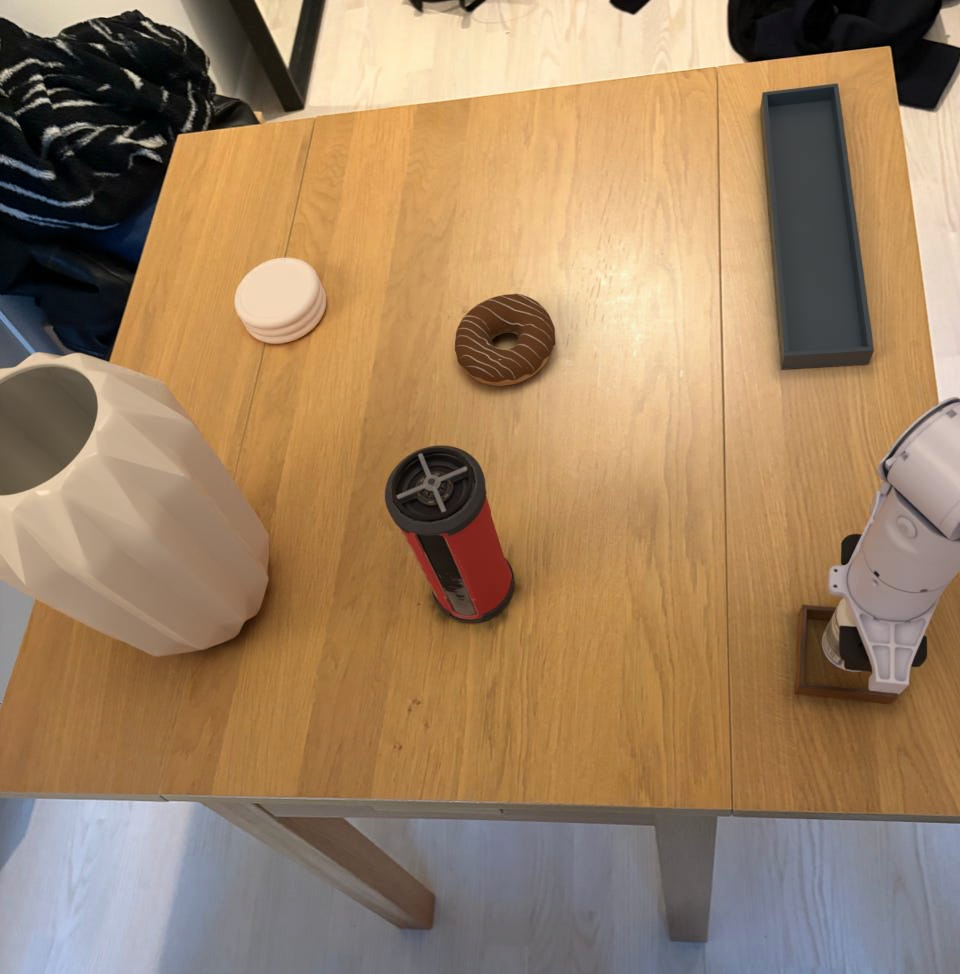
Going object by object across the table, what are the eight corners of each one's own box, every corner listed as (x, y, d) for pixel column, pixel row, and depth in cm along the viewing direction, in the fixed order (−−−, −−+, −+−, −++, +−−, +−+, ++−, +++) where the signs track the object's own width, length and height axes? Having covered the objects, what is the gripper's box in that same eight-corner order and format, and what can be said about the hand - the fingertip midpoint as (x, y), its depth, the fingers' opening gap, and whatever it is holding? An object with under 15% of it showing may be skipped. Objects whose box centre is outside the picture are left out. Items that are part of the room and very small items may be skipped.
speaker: (527, 605, 75) (497, 501, 59) (450, 637, 76) (399, 542, 59) (498, 538, 79) (462, 423, 62) (424, 569, 79) (368, 462, 62)
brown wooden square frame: (798, 613, 71) (802, 604, 69) (891, 621, 69) (897, 612, 67) (795, 694, 68) (798, 687, 66) (891, 704, 66) (897, 697, 65)
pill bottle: (890, 629, 66) (923, 584, 58) (874, 681, 65) (905, 642, 57) (830, 610, 67) (854, 564, 60) (813, 661, 66) (835, 620, 59)
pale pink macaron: (304, 353, 92) (292, 330, 89) (231, 337, 95) (217, 315, 92) (342, 286, 95) (331, 261, 92) (269, 272, 98) (257, 248, 94)
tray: (759, 109, 94) (762, 92, 92) (834, 100, 92) (838, 82, 90) (781, 369, 80) (784, 355, 78) (868, 364, 79) (874, 350, 77)
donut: (531, 298, 89) (527, 270, 85) (574, 365, 85) (571, 338, 81) (443, 340, 89) (434, 313, 85) (480, 409, 85) (473, 383, 81)
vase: (154, 504, 87) (-39, 315, 62) (323, 515, 83) (189, 317, 58) (93, 675, 81) (-150, 540, 56) (274, 697, 76) (98, 561, 51)
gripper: (846, 451, 55) (807, 547, 67) (841, 652, 50) (801, 716, 62) (962, 456, 53) (901, 554, 66) (969, 664, 48) (902, 727, 61)
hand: (859, 633), depth 64 cm, fingers closed on pill bottle, 5 cm apart
